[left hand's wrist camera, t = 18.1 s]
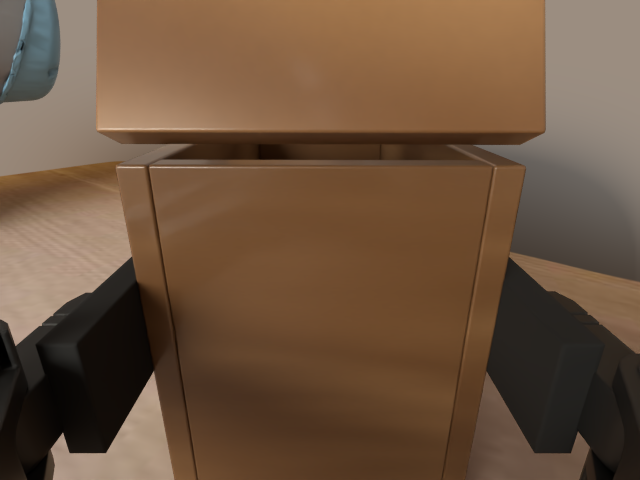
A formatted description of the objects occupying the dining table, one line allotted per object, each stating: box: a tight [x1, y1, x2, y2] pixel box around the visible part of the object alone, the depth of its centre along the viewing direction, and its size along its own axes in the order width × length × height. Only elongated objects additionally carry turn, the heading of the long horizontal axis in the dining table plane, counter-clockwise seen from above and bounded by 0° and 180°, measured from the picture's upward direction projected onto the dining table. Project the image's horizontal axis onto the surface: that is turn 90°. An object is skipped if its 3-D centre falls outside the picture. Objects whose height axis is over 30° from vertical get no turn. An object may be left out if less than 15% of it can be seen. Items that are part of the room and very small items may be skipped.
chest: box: [116, 144, 526, 480], centre depth 18 cm, size 17×9×10 cm, turn 0°
